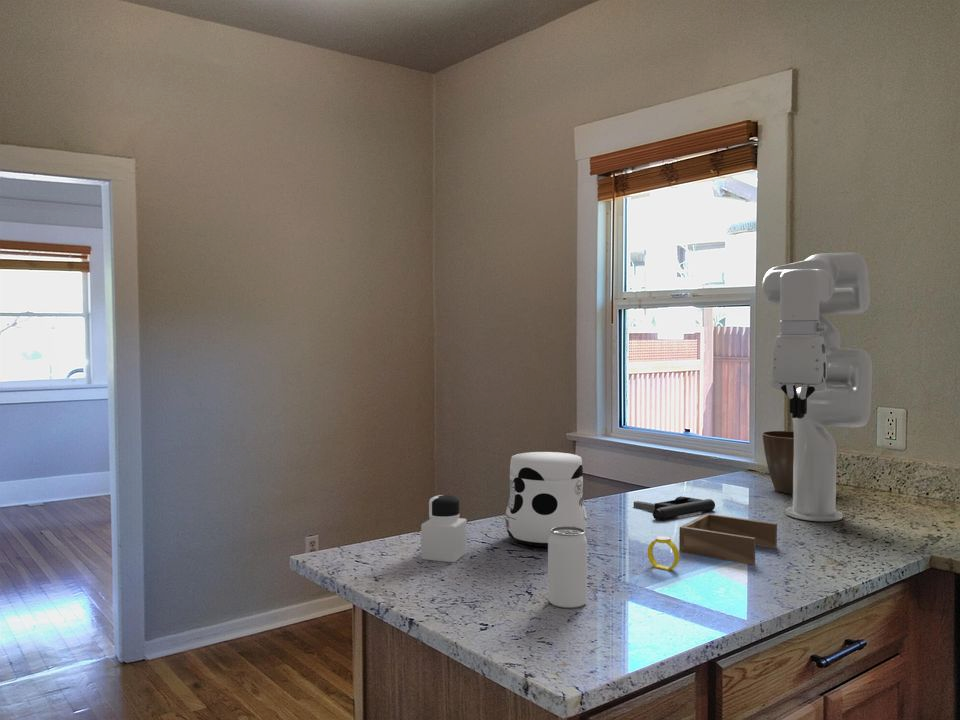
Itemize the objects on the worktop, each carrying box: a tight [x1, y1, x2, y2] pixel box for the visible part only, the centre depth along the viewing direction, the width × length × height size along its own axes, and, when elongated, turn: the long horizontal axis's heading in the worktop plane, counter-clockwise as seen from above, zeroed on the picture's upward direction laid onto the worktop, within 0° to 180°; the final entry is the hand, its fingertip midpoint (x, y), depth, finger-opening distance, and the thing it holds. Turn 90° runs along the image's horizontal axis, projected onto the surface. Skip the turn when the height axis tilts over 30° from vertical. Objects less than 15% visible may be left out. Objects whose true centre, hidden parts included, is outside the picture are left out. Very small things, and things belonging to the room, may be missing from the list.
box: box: [678, 512, 778, 565], centre depth 161 cm, size 15×15×5 cm
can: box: [547, 526, 588, 609], centre depth 130 cm, size 6×6×12 cm
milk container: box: [504, 451, 588, 547], centre depth 167 cm, size 17×17×18 cm
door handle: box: [633, 496, 716, 521], centre depth 196 cm, size 3×20×16 cm
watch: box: [647, 535, 680, 572], centre depth 149 cm, size 6×3×6 cm, turn 48°
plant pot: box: [761, 430, 794, 495], centre depth 219 cm, size 15×15×16 cm
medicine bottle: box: [420, 494, 468, 564], centre depth 156 cm, size 7×7×12 cm
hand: (798, 417), depth 163 cm, fingers closed
